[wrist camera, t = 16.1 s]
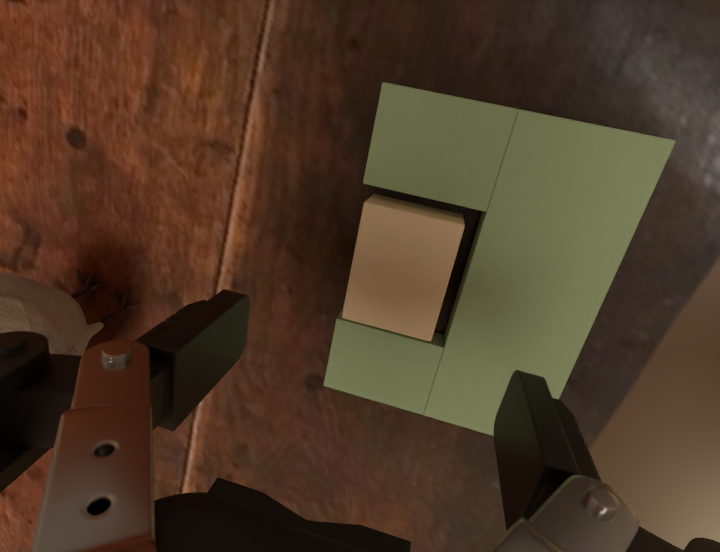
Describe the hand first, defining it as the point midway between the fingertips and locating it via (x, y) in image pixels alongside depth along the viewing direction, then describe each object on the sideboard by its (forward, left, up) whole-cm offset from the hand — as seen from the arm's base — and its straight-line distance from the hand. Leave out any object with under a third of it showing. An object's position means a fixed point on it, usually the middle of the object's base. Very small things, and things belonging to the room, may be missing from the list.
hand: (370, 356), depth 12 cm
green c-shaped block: (0, +3, -10) cm, 11 cm away
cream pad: (0, 0, -10) cm, 10 cm away
